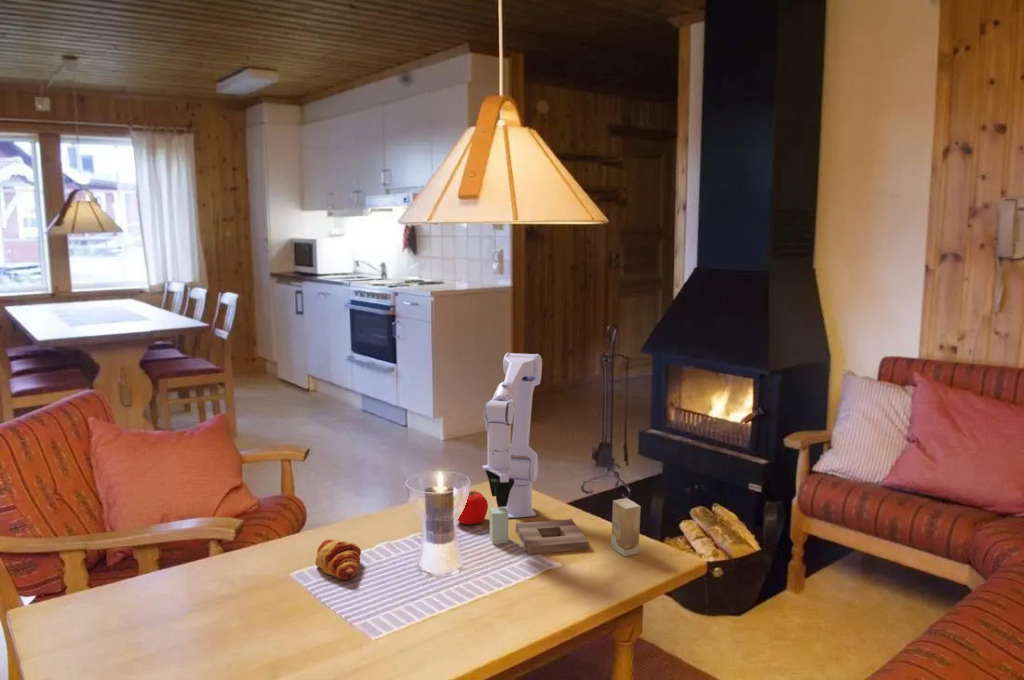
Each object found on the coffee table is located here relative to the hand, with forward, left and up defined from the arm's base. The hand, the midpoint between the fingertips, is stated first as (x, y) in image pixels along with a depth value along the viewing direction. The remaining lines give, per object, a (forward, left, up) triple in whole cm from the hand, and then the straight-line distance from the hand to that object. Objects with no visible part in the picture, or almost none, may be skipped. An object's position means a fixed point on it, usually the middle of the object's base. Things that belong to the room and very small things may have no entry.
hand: (499, 501), depth 195 cm
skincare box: (+12, +29, -11) cm, 33 cm away
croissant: (+7, -39, -11) cm, 41 cm away
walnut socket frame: (+2, +13, -10) cm, 17 cm away
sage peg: (0, 0, -10) cm, 10 cm away
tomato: (-14, -5, -11) cm, 18 cm away
